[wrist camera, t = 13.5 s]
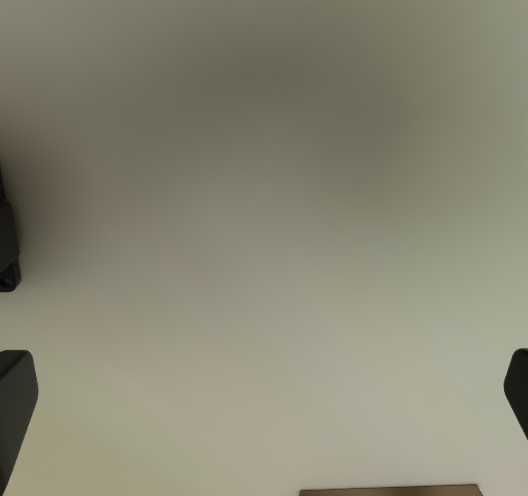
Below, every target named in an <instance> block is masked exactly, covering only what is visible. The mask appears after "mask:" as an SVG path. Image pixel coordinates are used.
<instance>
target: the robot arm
mask: <svg viewBox="0 0 528 496" xmlns="http://www.w3.org/2000/svg"><path fill="white" fill-rule="evenodd" d="M18 256H19V247H18V242H17V236H16V231H15V225H14V220H13V214H12V209H11V204H10V203H9V202H8V201H7V200H6V199H5V194H4V188H3V183H2V177H1V172H0V292H12V291H13V290H15V289H16V288H17V287H18V285H19V284H20V274H19V269H18V264H17V257H18ZM4 278H7V279H9V280H10V281H11V284H9V283H6V282H5V281H4ZM504 392H505V395H506V398H507V400H508V402H509V404H510V406H511V408H512V410H513V412H514V414H515V416H516V418H517V420H518V422H519V424H520V426H521V428H522V430H523V432H524V434H525V436H526V438H527V440H528V348H520V349H517V350H516V351H515V352H514V353H513V356H512V359H511V362H510V365H509V368H508V371H507V374H506V377H505V380H504ZM37 399H38V383H37V378H36V372H35V367H34V362H33V357H32V355H31V353H30V352H29V351H27V350H4V351H2V352H0V496H3V493H4V491H5V489H6V487H7V484H8V482H9V479H10V476H11V474H12V471H13V468H14V465H15V463H16V460H17V457H18V454H19V451H20V448H21V445H22V443H23V440H24V437H25V434H26V431H27V428H28V425H29V423H30V420H31V417H32V414H33V411H34V408H35V405H36V402H37Z"/></svg>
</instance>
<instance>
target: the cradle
mask: <svg viewBox="0 0 528 496" xmlns="http://www.w3.org/2000/svg"><path fill="white" fill-rule="evenodd" d="M299 496H483V494H482V493H481V491H480V489H479V488H478V486H477V485H456V486H427V487H398V488H370V489H341V490H313V491H300V495H299Z"/></svg>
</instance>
